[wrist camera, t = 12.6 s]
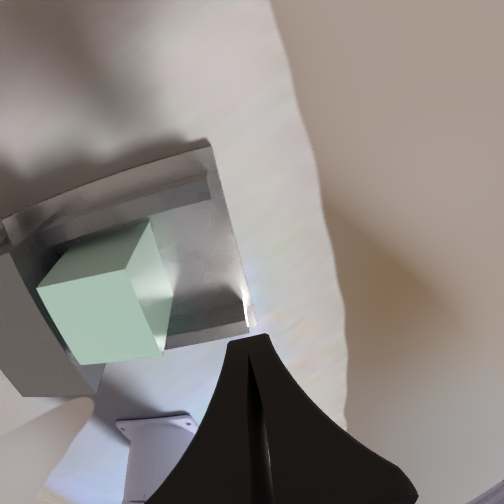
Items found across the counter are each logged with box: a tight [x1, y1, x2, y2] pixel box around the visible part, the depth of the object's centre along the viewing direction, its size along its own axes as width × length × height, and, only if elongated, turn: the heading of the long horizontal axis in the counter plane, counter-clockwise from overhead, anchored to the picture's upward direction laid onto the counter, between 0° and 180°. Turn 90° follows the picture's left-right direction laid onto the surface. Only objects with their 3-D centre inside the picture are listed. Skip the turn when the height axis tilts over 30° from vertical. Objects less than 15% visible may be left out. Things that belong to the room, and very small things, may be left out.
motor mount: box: [0, 145, 258, 397], centre depth 16 cm, size 13×18×6 cm
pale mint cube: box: [36, 222, 173, 365], centre depth 16 cm, size 5×5×6 cm
